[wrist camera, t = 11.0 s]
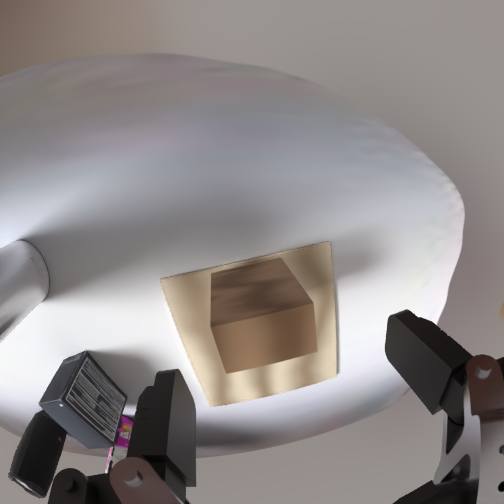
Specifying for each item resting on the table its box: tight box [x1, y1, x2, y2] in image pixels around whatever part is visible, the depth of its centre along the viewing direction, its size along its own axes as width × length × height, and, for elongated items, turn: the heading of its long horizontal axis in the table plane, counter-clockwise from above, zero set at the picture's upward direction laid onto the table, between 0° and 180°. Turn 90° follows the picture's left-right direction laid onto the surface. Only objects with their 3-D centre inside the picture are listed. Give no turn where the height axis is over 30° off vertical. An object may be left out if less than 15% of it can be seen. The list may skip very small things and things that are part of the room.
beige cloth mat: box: [160, 242, 337, 407], centre depth 34 cm, size 20×22×1 cm
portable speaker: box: [8, 410, 67, 498], centre depth 27 cm, size 9×9×20 cm
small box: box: [38, 351, 127, 449], centre depth 29 cm, size 11×6×10 cm, turn 24°
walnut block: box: [210, 258, 318, 374], centre depth 26 cm, size 8×5×11 cm, turn 101°
